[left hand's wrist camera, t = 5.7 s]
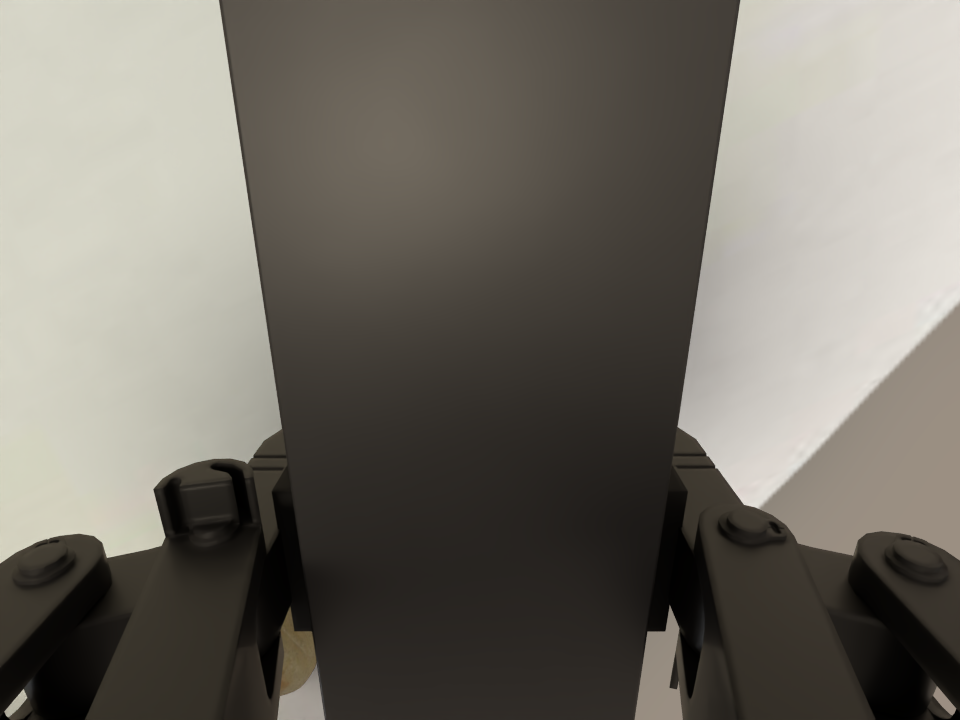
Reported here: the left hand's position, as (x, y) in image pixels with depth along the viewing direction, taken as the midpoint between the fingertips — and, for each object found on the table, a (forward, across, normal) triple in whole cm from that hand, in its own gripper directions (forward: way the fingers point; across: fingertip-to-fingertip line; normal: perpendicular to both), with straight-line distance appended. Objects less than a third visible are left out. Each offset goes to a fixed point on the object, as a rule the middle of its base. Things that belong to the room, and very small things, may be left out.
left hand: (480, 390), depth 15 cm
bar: (+1, 0, -8) cm, 8 cm away
